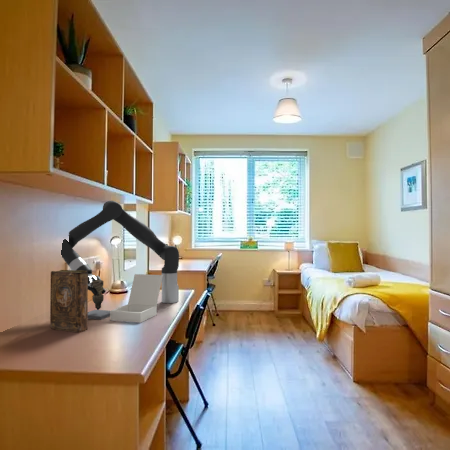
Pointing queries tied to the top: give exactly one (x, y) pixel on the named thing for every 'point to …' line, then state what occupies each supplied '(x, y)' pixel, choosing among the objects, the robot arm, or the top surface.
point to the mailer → (140, 300)
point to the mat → (98, 314)
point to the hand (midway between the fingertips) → (100, 293)
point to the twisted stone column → (99, 298)
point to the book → (69, 300)
